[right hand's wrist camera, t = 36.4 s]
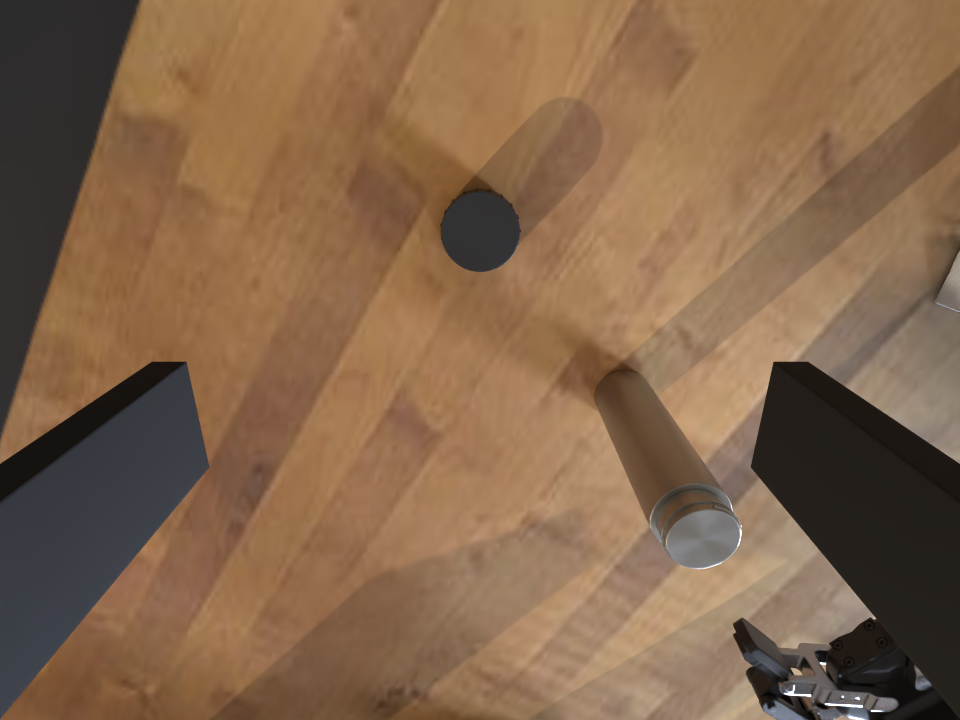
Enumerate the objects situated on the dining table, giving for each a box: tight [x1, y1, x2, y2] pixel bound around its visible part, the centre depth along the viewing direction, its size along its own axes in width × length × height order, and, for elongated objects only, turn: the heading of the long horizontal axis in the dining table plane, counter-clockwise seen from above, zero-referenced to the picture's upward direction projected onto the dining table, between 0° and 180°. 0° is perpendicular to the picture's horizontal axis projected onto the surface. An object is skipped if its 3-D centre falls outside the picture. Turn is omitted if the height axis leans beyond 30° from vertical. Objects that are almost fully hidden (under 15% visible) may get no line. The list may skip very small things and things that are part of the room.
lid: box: [441, 188, 521, 272], centre depth 37 cm, size 5×5×2 cm
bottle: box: [595, 370, 742, 569], centre depth 35 cm, size 4×4×17 cm
